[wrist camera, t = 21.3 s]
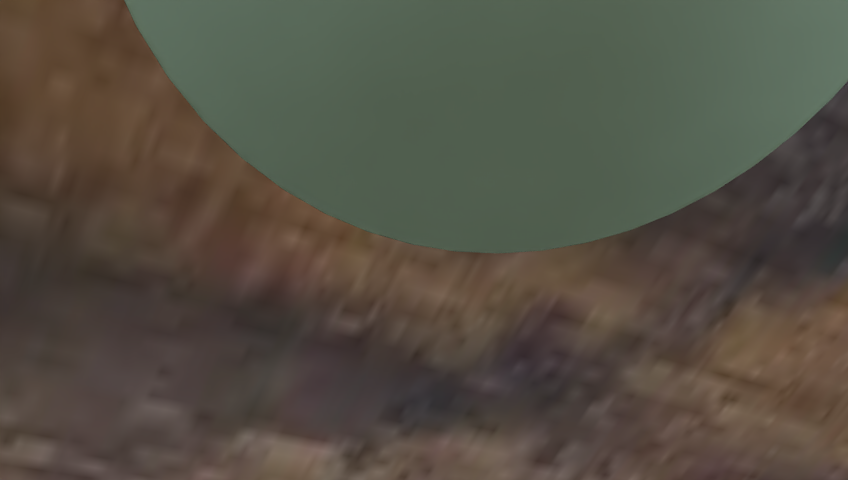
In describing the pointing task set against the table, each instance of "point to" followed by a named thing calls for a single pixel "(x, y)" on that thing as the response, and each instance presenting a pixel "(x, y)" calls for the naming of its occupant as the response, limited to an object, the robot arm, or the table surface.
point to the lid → (500, 104)
